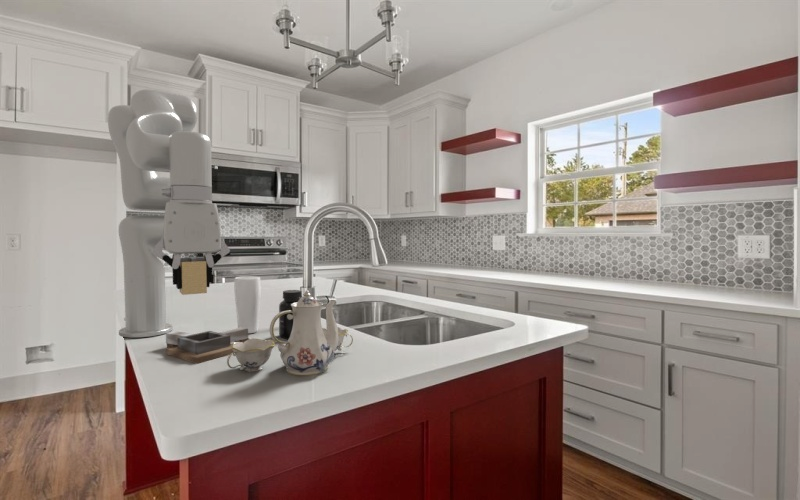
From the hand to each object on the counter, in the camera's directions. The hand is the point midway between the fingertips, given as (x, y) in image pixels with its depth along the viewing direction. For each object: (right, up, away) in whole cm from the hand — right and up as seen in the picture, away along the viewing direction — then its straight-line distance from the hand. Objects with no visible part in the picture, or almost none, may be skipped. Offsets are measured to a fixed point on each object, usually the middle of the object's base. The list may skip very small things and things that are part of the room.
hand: (192, 286), depth 88 cm
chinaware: (+21, -17, +4) cm, 27 cm away
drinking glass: (0, -15, +31) cm, 35 cm away
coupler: (0, -1, 0) cm, 1 cm away
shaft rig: (-4, -16, +16) cm, 23 cm away
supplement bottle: (+13, -16, +28) cm, 34 cm away
